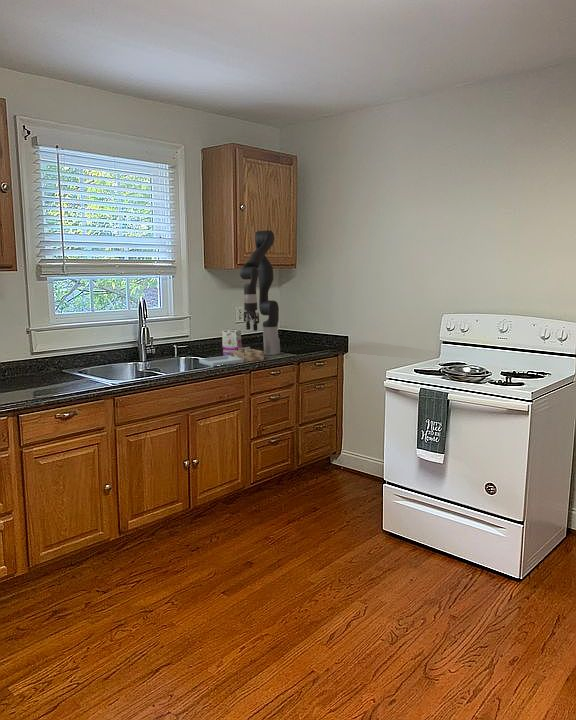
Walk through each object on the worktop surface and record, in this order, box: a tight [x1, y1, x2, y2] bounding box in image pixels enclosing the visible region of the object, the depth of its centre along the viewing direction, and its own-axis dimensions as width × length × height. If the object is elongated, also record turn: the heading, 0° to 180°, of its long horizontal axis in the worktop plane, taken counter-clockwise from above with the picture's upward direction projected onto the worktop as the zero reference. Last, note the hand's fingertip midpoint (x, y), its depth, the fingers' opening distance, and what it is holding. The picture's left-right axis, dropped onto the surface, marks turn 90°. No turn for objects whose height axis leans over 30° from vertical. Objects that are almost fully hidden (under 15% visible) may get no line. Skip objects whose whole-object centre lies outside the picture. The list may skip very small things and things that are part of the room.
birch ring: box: [234, 348, 265, 363], centre depth 359 cm, size 14×13×5 cm
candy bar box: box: [221, 329, 243, 357], centre depth 369 cm, size 11×5×16 cm, turn 62°
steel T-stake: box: [242, 346, 251, 353], centre depth 361 cm, size 5×2×7 cm, turn 122°
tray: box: [198, 355, 245, 367], centre depth 349 cm, size 19×19×2 cm
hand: (251, 330), depth 351 cm, fingers open, 8 cm apart
